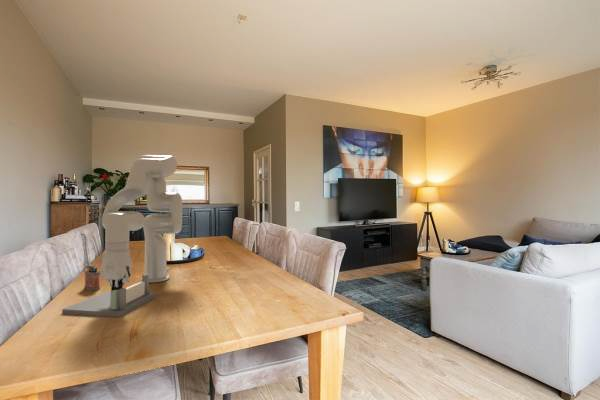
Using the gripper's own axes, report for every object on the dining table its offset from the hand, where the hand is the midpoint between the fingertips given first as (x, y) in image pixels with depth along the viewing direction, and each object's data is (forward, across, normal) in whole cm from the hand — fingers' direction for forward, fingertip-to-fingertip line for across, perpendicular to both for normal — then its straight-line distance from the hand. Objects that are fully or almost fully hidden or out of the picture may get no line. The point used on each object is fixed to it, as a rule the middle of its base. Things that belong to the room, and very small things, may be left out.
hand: (116, 297), depth 110 cm
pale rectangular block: (+2, +4, +2) cm, 4 cm away
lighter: (+4, -30, +12) cm, 32 cm away
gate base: (+4, -3, +1) cm, 5 cm away
